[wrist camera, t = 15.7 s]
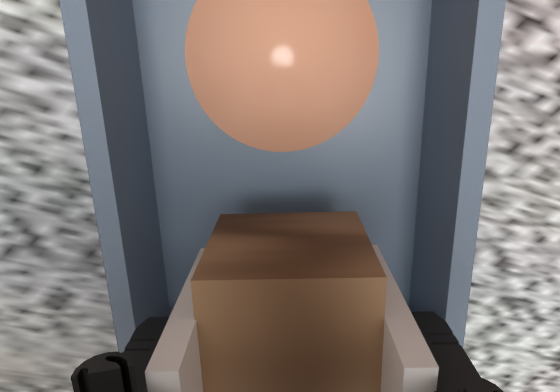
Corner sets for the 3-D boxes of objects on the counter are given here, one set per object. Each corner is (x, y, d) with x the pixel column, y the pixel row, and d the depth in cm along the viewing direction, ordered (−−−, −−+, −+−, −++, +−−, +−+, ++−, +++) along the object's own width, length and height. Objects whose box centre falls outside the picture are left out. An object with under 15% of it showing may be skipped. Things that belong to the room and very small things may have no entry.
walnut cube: (229, 330, 17) (206, 433, 12) (220, 214, 16) (190, 280, 11) (353, 328, 17) (378, 432, 12) (356, 211, 15) (386, 277, 11)
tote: (159, 318, 22) (124, 388, 17) (109, -65, 17) (39, -116, 12) (420, 313, 22) (458, 383, 17) (453, -77, 17) (522, -134, 12)
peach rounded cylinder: (226, 121, 18) (193, 154, 12) (218, -5, 17) (175, -50, 10) (341, 118, 18) (374, 149, 12) (343, -10, 17) (383, -57, 10)
